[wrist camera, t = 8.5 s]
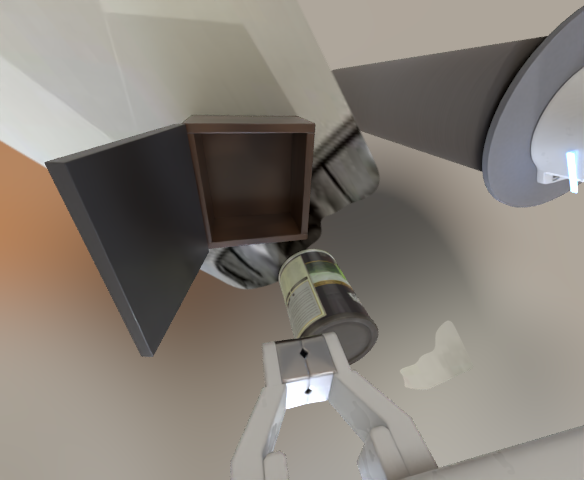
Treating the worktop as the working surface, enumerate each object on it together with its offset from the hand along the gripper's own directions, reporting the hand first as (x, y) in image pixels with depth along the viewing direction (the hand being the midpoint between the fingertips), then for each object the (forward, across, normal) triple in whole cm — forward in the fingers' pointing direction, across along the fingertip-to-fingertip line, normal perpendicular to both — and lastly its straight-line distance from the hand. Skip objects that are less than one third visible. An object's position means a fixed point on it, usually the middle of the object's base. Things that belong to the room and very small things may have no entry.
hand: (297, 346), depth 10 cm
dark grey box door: (+11, +7, 0) cm, 13 cm away
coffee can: (+25, -8, +18) cm, 32 cm away
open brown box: (+24, 0, 0) cm, 25 cm away
